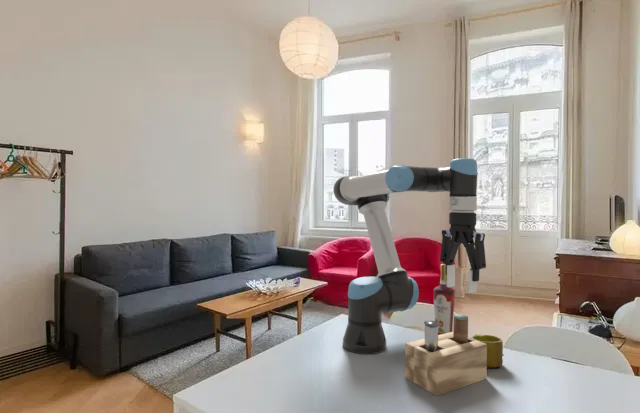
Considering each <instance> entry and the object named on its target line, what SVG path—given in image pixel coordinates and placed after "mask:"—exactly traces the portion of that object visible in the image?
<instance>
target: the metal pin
mask: <svg viewBox="0 0 640 413" xmlns="http://www.w3.org/2000/svg"><path fill="white" fill-rule="evenodd" d="M423 324H424V338H425V350H428V351H430V352H435V351H438V326H439V322H436V321H435V320H429V319H428V320H424V322H423Z"/></svg>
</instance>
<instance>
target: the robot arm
mask: <svg viewBox="0 0 640 413" xmlns="http://www.w3.org/2000/svg"><path fill="white" fill-rule="evenodd" d="M478 176H479V173H478V163H477V160H476V159H474V158H468V157H466V158H455V159H454V158H453V159H451V160H450V162H449V166H447V167H430V166H429V167H428V166H410V165H403V164H402V165H401V164H399V165H392V166H391V167H389V169H386V170H382V171H378V172H372V173H369V174H364V175H344V176H342V177H339V178H338V179H337V180H336V181H335V183H334V185H333V190H332V191H333V194H334V197H335V199H336V200H337V201H338V202H340V203H341V204H343V205H346V206H347V205H348V206H357V210H358V213H360V214H361V215H363V217H364V222H365V226H366V229H367V233H368V237H369V241H370V245H371V249H372V252H373V255H374V259H375V260H374V261H375V264H376V267H377V268H376V269H377V272H378V273H377V274H376V276H361V277H356V278H355V279H353V280H351V281H350V283H349V285H348V292H347V297H348V299H347V301H348V302H347V307H348V308H347V311H348V312H347V326H346V328H345V331H344V335H343V337H342V347H343V348H344V349H345V350H348V351H350V352H352V353H355V354H364V355H368V354H369V355H371V354H379V353H382V352H384V351H385V350H386V349H387V337H386V335H385V334H386V333H385V331H384V328H383V325H382V319H383V318H382V317H383V314H390V313H396V312H397V313H398V312H404V311H408V310H411V309H413V308H414V307H415V306H416V305H417V302H418V300H419V293H420V291H419V286H418V283H417V281H416V280H415V279H414V278H413V277H410V276H408V272H407V270H406V269H404V267H403V268H402V266H401V262H400V259H399V256H398V251H397V249H396V245H395V241H394V237H393V234H392V231H391V227H390V224H389V220H388V216H387V213H386V209H387V206H388V202H389V200H390V194H394V193H404V192H427V193H436V192H439V193H442V192H449V210H450V212H449V214H448V224H449V225H450V227H449V229H443V230H441V238H442V239H441V248H440V257H439V262H441V263H443V264H445V265H446V267H445V274H446V275H447V287H451V288H452V287H456V265H455V259H456V255H457V253H458V250H459V246H460V245H461V244H462V245H463V248H465V252H466V255H467V258H468V261H469V265H470V269H468V293H469V294H473V293H477V292H478V282H479V281H480V270H482V269H486V268H487V262H486V261H487V260H486V252H485V251H486V250H485V238H486V234H485V233H483V232H482V233H481V232H477V230H476V225H477V212H475V211H477V210H478V209H477V206H478V202H477V201H478V198H477V196H478V194H477V193H478V191H477V189H478V187H477V186H478Z"/></svg>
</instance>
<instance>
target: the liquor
mask: <svg viewBox="0 0 640 413" xmlns="http://www.w3.org/2000/svg"><path fill="white" fill-rule="evenodd" d="M445 267H446V265H445V263H441V264H440V279H439V280H440V281H439V285H438V286H435V287H434V288H433V311H434V315H433V316H434V321H436V322H439V326H438V335H441V334H445V333H449V332H453V328H454V308H455V294H456V291H455V289H454V288H452V287H447V275H446V274H445Z"/></svg>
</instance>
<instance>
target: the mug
mask: <svg viewBox="0 0 640 413" xmlns="http://www.w3.org/2000/svg"><path fill="white" fill-rule="evenodd" d="M470 338H472V339H475V340H477V341H480V342H483V343H485V344H487V369H495V368H499V367H502V365H503V362H504V359H503V353H504V351H503V350H504V344H503V343H504V342H503V339H502V338H501V337H499V336H496V335H491V334H482V333H476V334H475V335H472V336H470Z"/></svg>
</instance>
